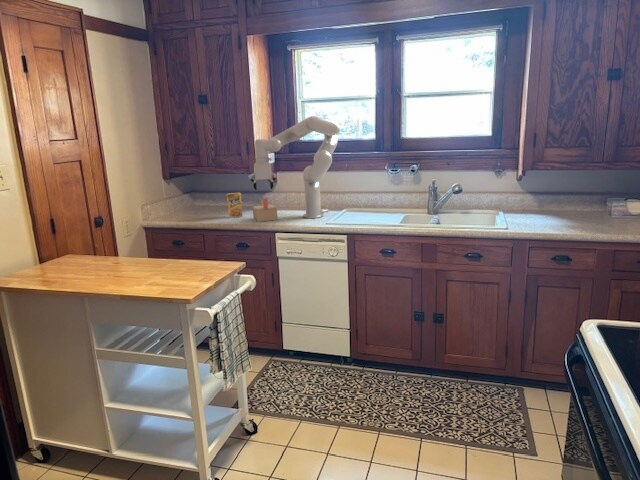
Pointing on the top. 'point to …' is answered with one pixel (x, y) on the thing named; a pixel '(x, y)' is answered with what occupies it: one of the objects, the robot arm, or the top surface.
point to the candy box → (234, 205)
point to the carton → (264, 215)
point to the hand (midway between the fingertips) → (263, 189)
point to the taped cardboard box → (264, 205)
